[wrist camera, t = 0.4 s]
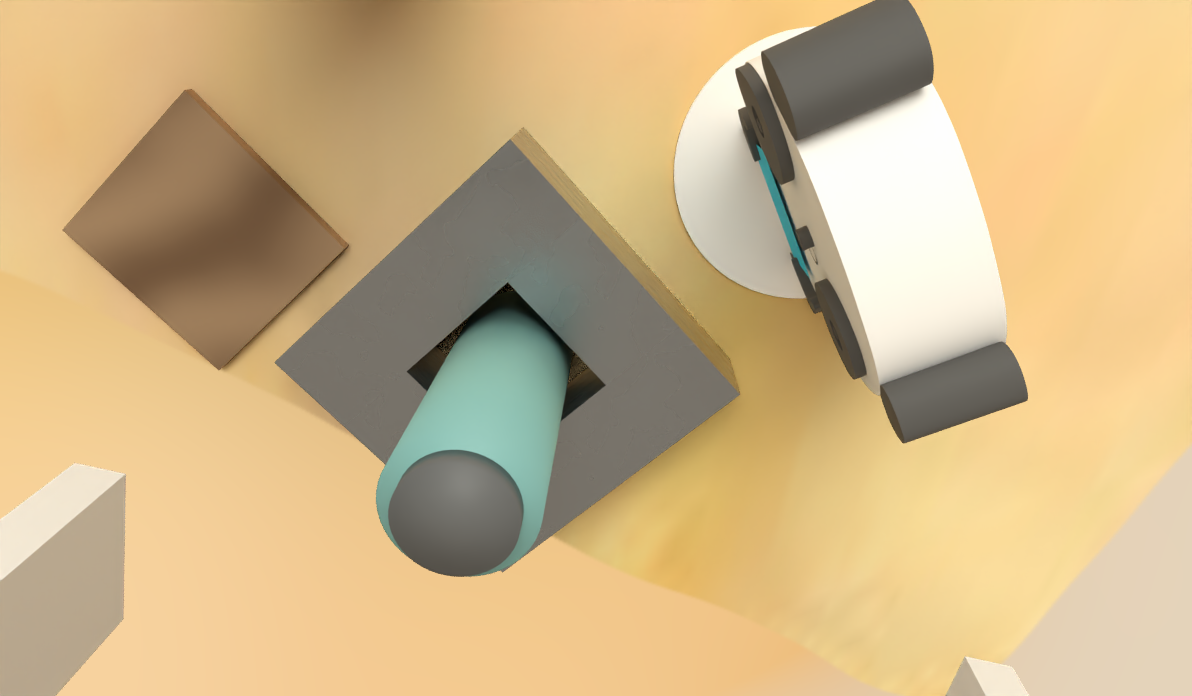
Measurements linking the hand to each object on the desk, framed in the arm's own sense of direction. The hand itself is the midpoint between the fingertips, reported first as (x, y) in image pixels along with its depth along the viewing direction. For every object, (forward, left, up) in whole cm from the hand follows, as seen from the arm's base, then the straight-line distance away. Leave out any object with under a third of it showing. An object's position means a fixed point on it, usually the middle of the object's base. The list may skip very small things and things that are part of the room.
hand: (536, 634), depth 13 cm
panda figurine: (+3, +9, -26) cm, 27 cm away
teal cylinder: (+1, -6, -25) cm, 26 cm away
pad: (-12, -13, -25) cm, 31 cm away
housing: (+1, -6, -25) cm, 26 cm away
